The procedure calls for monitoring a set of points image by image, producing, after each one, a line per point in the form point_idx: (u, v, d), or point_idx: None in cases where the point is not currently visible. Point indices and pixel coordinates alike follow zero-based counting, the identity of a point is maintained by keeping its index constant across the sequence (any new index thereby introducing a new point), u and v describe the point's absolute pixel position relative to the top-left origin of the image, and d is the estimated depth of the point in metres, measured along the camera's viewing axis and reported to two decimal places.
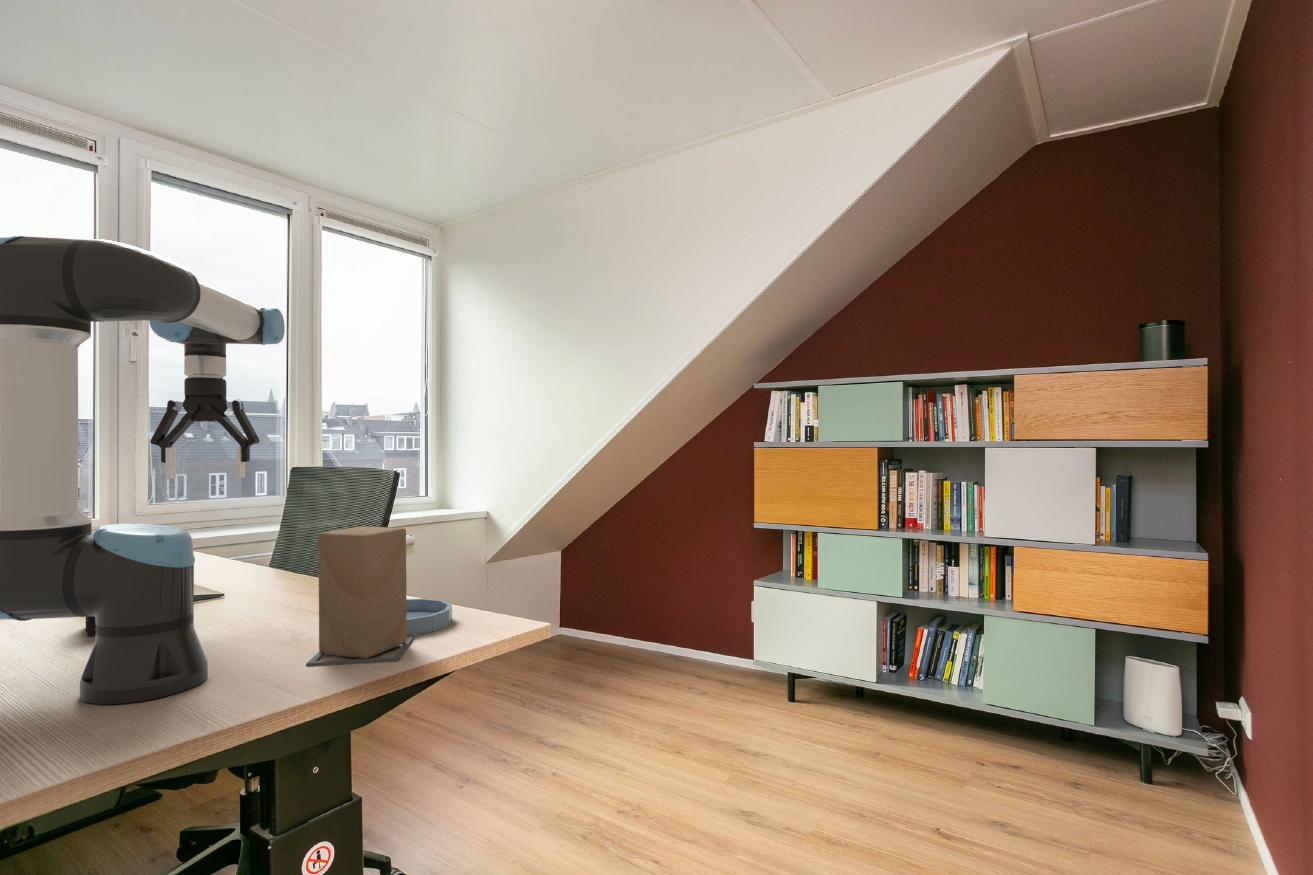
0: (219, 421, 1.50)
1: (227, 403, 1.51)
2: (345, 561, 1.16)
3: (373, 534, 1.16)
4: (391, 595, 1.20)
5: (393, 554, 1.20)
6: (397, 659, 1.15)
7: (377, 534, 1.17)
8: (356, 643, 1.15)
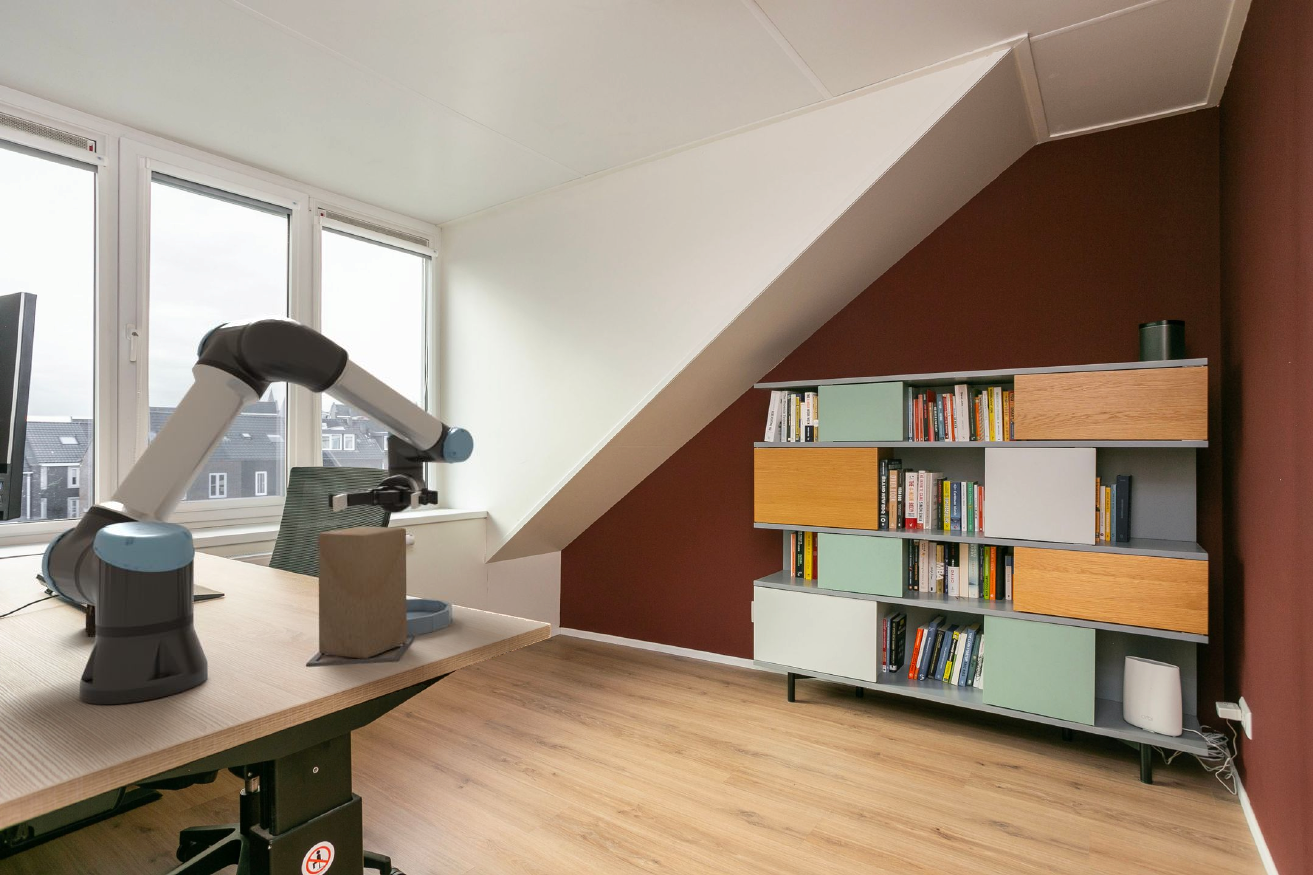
0: (405, 488, 1.43)
1: None
2: (345, 561, 1.16)
3: (373, 534, 1.16)
4: (391, 595, 1.20)
5: (393, 554, 1.20)
6: (397, 659, 1.15)
7: (377, 534, 1.17)
8: (356, 643, 1.15)
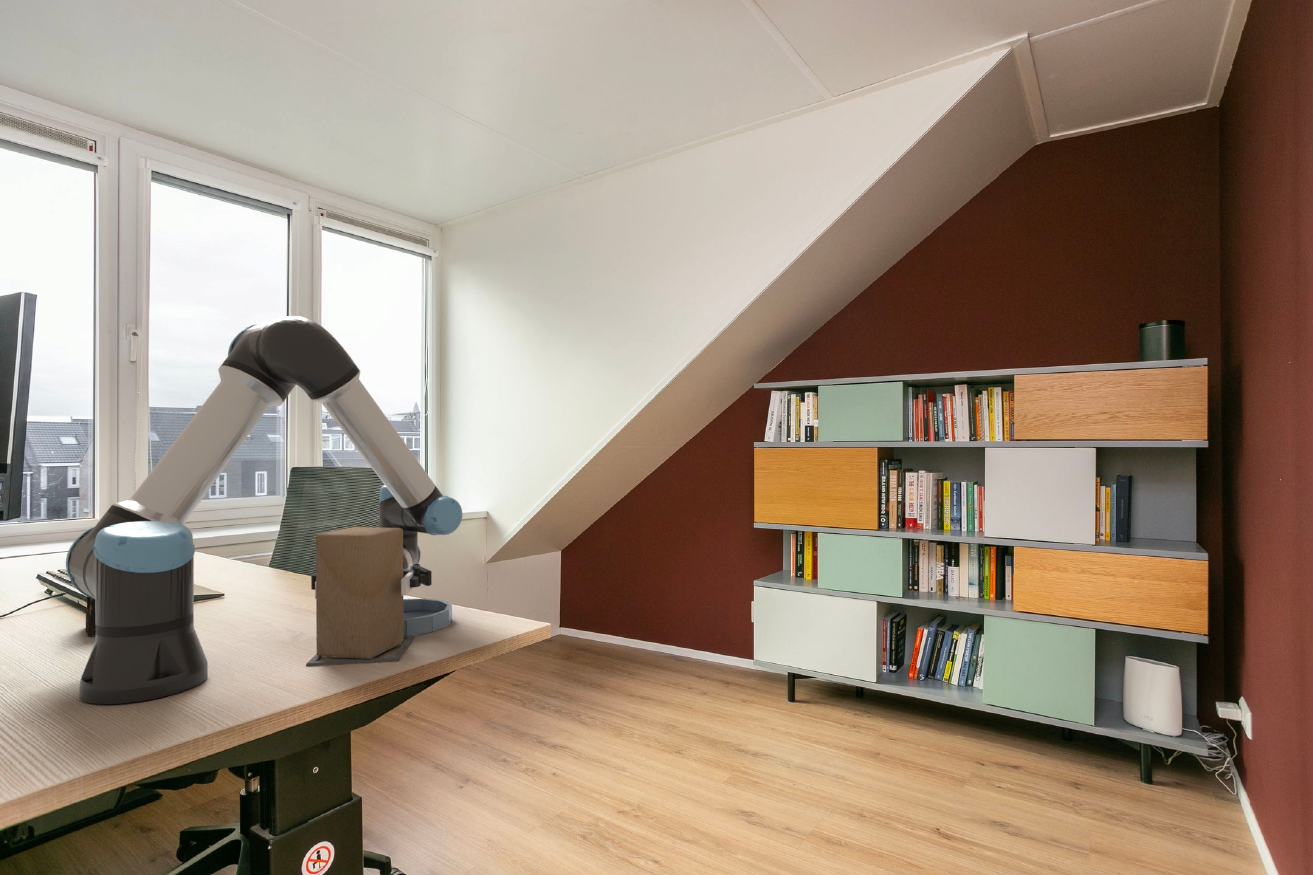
0: None
1: (406, 568, 1.35)
2: (347, 562, 1.15)
3: (375, 534, 1.16)
4: (391, 595, 1.20)
5: (392, 554, 1.20)
6: (397, 659, 1.15)
7: (379, 534, 1.17)
8: (359, 644, 1.15)
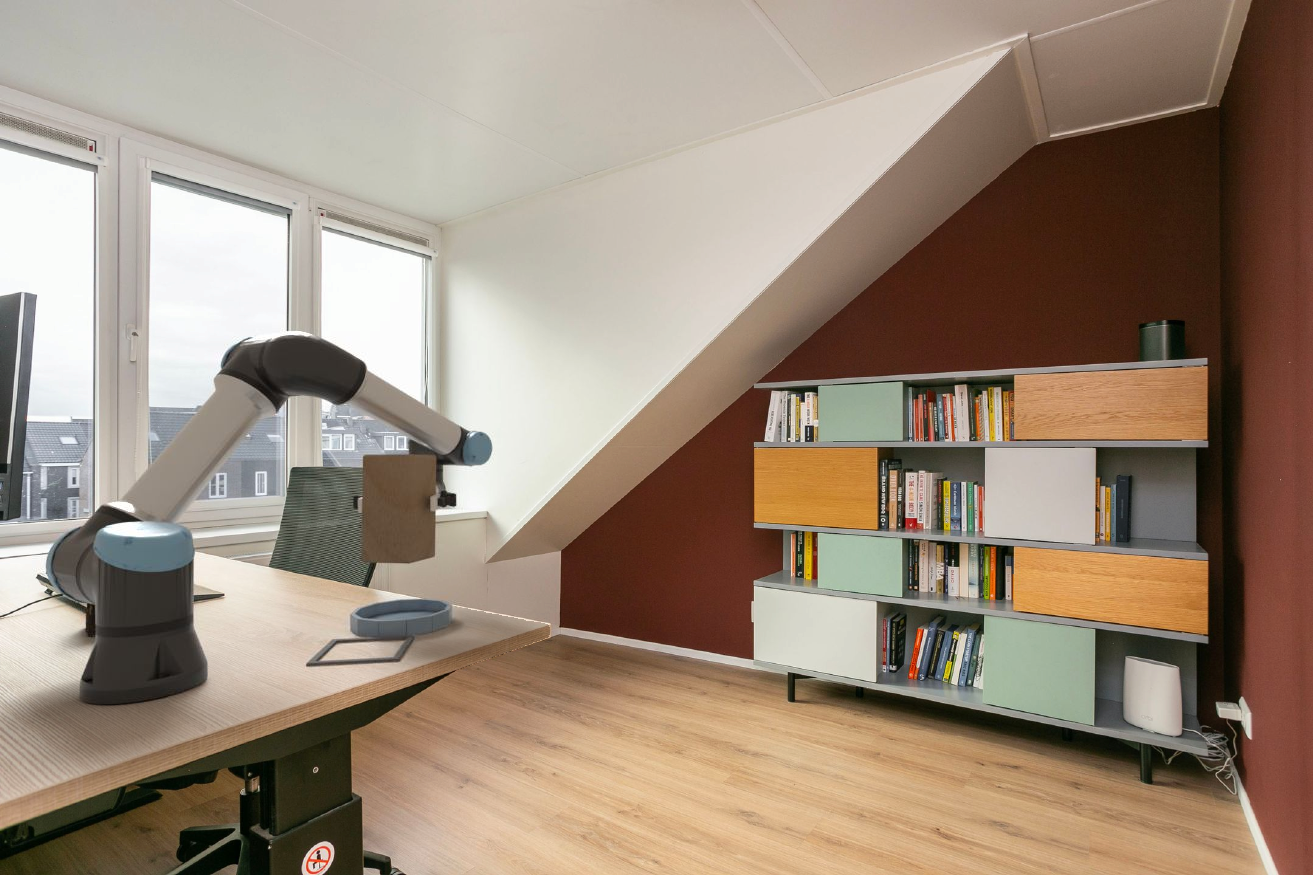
0: None
1: None
2: (391, 478, 1.31)
3: (416, 455, 1.33)
4: (426, 512, 1.36)
5: (428, 475, 1.37)
6: (397, 659, 1.15)
7: (418, 456, 1.34)
8: (400, 550, 1.30)
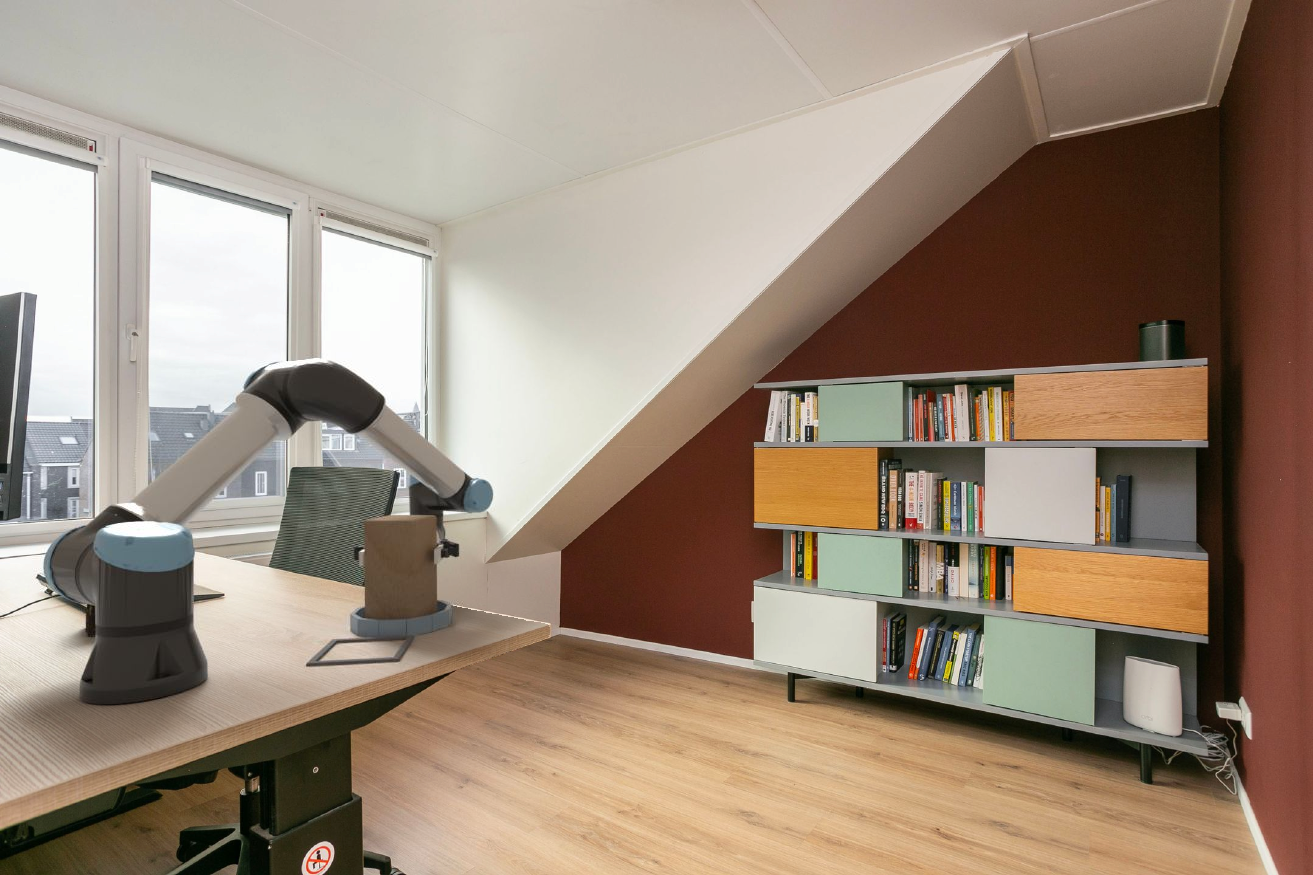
0: None
1: None
2: (393, 544, 1.32)
3: (417, 520, 1.34)
4: (428, 573, 1.38)
5: (429, 537, 1.38)
6: (397, 659, 1.15)
7: (420, 520, 1.35)
8: (404, 615, 1.32)
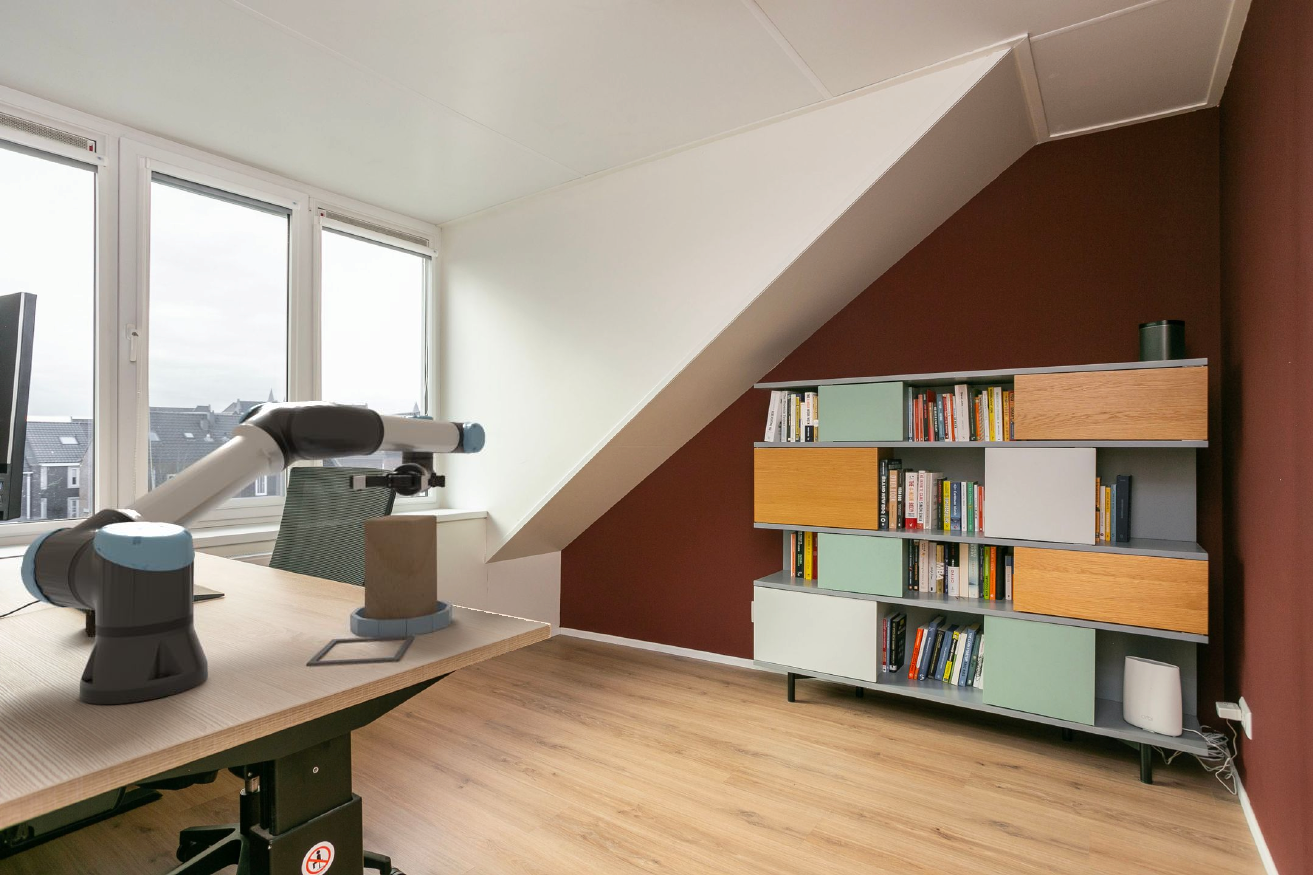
0: (417, 473, 1.61)
1: None
2: (393, 544, 1.32)
3: (417, 520, 1.34)
4: (428, 573, 1.38)
5: (429, 537, 1.38)
6: (397, 659, 1.15)
7: (420, 520, 1.35)
8: (404, 615, 1.32)
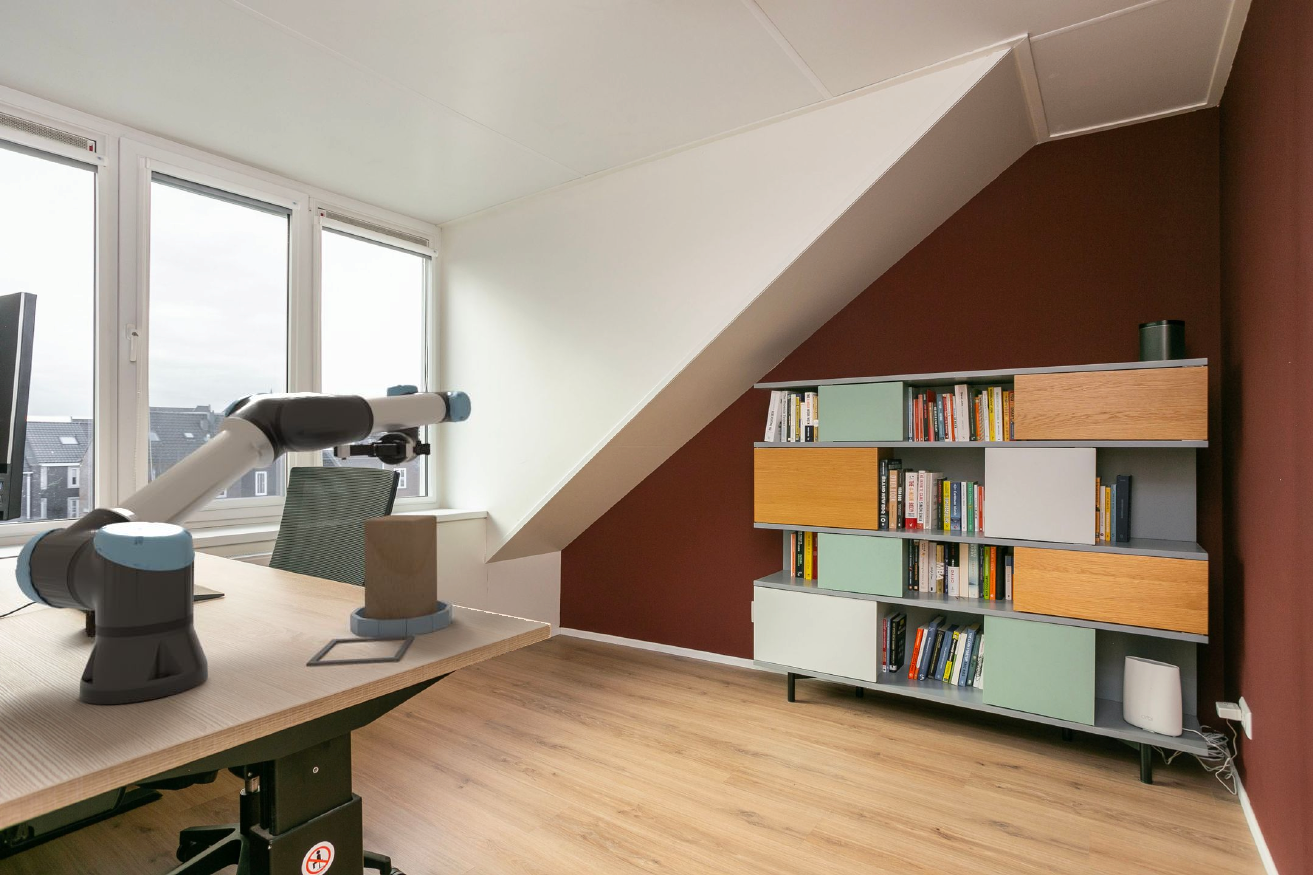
0: (401, 442, 1.61)
1: None
2: (393, 544, 1.32)
3: (417, 520, 1.34)
4: (428, 573, 1.38)
5: (429, 537, 1.38)
6: (397, 659, 1.15)
7: (420, 520, 1.35)
8: (404, 615, 1.32)
